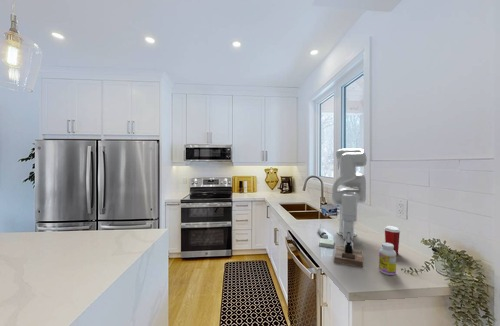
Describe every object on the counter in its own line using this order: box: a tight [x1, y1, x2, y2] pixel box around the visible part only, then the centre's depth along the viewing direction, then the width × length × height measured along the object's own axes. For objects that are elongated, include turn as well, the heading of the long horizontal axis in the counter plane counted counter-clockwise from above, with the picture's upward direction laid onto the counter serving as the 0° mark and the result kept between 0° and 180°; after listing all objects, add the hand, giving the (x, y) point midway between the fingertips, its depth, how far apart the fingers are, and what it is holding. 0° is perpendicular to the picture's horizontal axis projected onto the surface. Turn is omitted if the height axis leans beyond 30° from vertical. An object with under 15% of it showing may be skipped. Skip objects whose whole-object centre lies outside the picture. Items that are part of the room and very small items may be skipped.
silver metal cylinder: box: [343, 240, 354, 253], centre depth 119 cm, size 4×4×5 cm
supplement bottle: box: [378, 242, 397, 276], centre depth 102 cm, size 7×7×13 cm
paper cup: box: [383, 225, 401, 256], centre depth 123 cm, size 8×8×14 cm
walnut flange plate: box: [333, 245, 364, 268], centre depth 116 cm, size 16×13×3 cm
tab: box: [318, 237, 335, 249], centre depth 135 cm, size 8×8×2 cm
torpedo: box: [316, 224, 329, 239], centre depth 152 cm, size 18×5×7 cm, turn 177°
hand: (348, 250), depth 119 cm, fingers closed on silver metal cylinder, 4 cm apart
